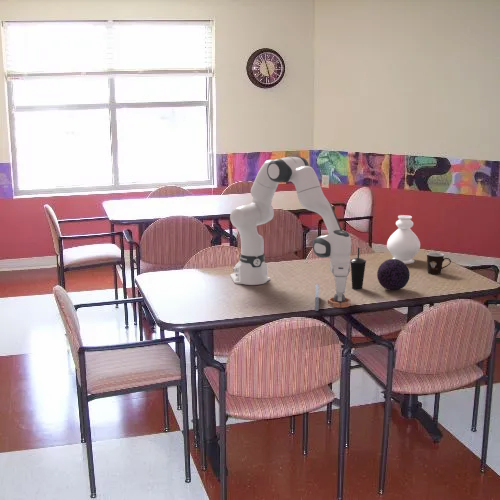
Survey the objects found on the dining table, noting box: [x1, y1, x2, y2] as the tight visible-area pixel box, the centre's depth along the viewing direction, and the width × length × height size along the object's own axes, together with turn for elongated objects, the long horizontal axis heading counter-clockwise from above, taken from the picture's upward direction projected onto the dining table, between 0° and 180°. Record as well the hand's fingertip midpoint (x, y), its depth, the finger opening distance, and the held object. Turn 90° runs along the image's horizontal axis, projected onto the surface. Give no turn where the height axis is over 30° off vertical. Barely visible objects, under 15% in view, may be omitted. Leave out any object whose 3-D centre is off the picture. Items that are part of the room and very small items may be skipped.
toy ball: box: [376, 258, 411, 292], centre depth 332 cm, size 15×15×15 cm
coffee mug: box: [426, 251, 452, 276], centre depth 361 cm, size 12×9×10 cm
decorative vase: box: [386, 214, 421, 265], centre depth 385 cm, size 18×18×25 cm
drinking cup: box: [350, 247, 367, 291], centre depth 335 cm, size 8×8×20 cm
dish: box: [327, 296, 352, 309], centre depth 313 cm, size 10×10×2 cm
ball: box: [333, 292, 346, 303], centre depth 311 cm, size 5×5×5 cm
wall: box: [314, 283, 320, 312], centre depth 313 cm, size 20×2×6 cm, turn 175°
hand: (339, 297), depth 312 cm, fingers open, 8 cm apart
